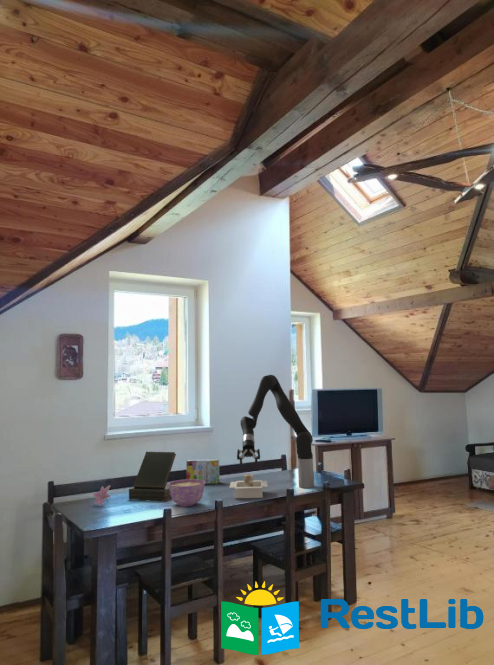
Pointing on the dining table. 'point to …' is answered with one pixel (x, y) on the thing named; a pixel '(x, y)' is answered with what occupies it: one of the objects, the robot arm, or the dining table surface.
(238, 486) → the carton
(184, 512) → the dining table surface
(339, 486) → the dining table surface
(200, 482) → the bowl of food
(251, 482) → the block
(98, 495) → the lily
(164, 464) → the tilted panel on base
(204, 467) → the snack box
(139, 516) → the dining table surface
